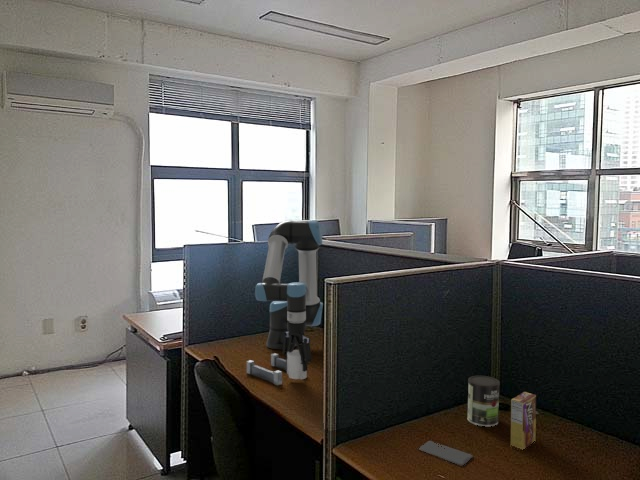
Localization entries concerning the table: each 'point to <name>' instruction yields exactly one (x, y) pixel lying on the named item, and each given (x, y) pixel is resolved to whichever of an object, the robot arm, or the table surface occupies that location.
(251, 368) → the channel guide
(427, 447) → the smartphone
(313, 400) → the table surface
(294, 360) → the white cup
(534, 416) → the candy box
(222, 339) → the table surface
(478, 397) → the coffee can
